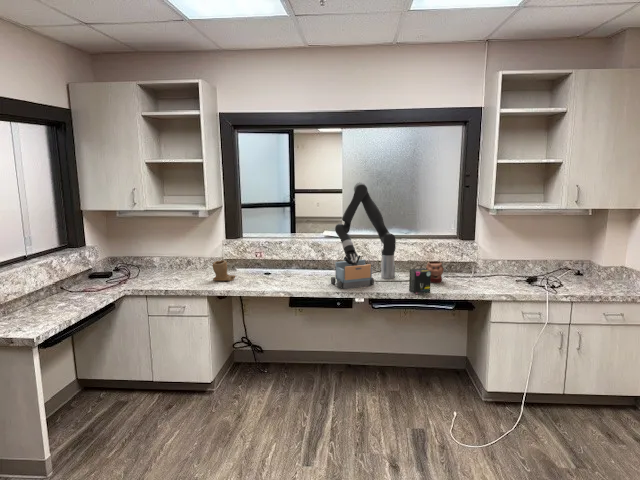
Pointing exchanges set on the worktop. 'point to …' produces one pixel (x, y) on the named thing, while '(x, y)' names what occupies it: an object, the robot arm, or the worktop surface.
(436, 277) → the decorative planter
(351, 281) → the pickup bed
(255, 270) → the worktop surface
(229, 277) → the brown boot
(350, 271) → the panel
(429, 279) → the tampon box
